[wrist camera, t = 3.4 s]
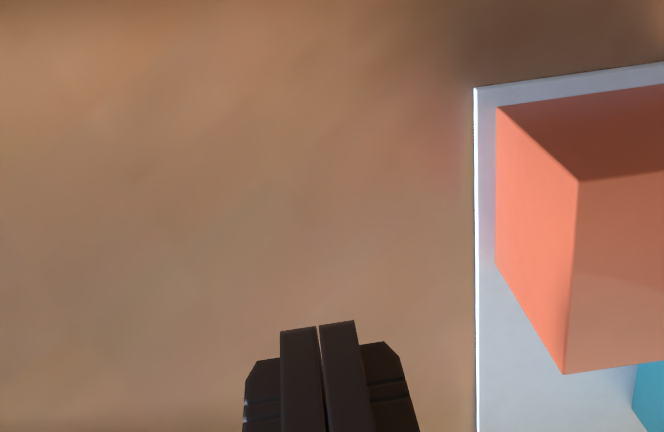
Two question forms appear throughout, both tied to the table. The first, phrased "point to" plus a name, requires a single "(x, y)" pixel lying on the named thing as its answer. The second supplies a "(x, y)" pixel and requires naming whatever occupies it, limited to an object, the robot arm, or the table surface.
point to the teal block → (649, 395)
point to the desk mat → (505, 311)
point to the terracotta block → (585, 223)
